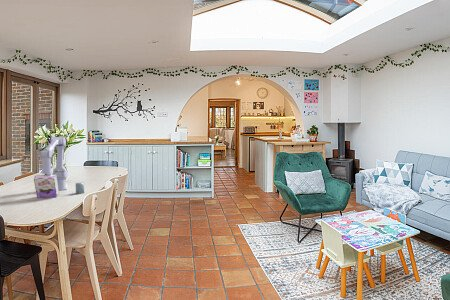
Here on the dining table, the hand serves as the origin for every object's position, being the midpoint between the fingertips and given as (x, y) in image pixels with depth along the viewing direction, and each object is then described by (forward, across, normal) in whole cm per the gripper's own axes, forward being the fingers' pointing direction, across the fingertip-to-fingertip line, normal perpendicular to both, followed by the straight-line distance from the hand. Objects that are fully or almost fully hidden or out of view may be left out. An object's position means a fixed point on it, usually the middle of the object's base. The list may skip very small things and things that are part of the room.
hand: (47, 184), depth 233 cm
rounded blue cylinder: (+10, +4, +22) cm, 24 cm away
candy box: (+9, +2, 0) cm, 9 cm away
